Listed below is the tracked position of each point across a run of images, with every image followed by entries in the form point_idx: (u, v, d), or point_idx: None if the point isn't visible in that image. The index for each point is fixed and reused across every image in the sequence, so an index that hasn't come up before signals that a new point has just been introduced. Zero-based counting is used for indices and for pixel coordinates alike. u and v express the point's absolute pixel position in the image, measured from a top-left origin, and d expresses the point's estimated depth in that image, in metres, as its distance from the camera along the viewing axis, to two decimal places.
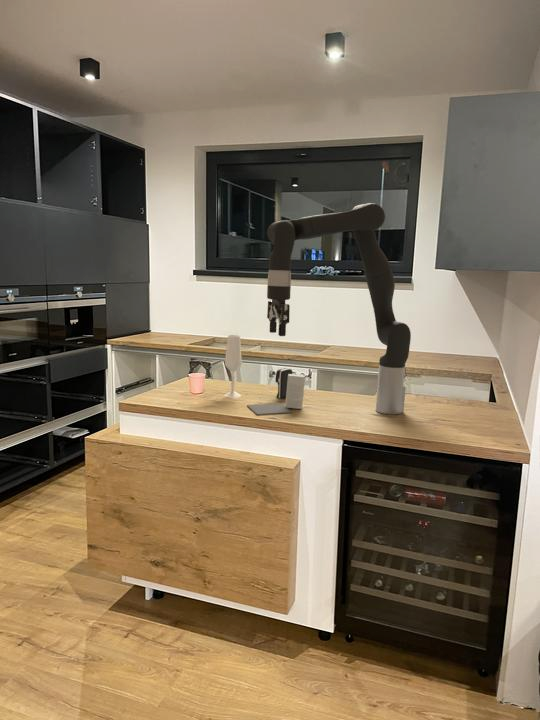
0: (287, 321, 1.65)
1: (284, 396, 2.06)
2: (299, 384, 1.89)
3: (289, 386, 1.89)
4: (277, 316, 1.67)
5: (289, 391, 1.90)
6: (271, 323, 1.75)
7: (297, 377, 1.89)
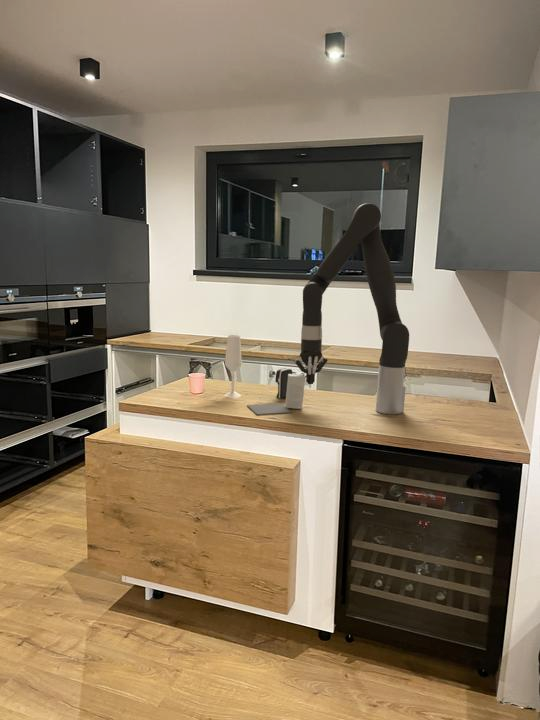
0: None
1: (284, 396, 2.06)
2: (299, 384, 1.89)
3: (289, 386, 1.89)
4: (316, 367, 1.91)
5: (289, 391, 1.89)
6: None
7: (297, 377, 1.89)
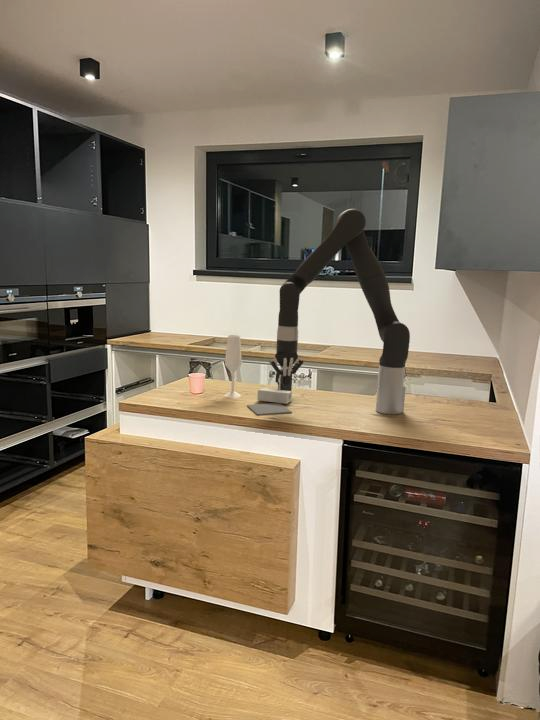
0: None
1: None
2: (268, 389, 2.02)
3: (268, 390, 1.98)
4: (291, 369, 1.88)
5: (273, 391, 1.98)
6: None
7: (261, 389, 2.02)
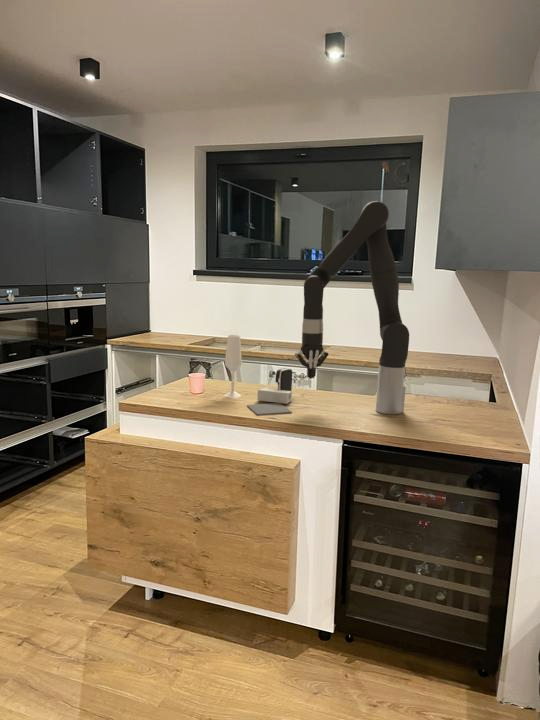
0: None
1: None
2: (268, 389, 2.02)
3: (268, 390, 1.98)
4: (317, 361, 1.91)
5: (273, 391, 1.98)
6: None
7: (261, 389, 2.02)
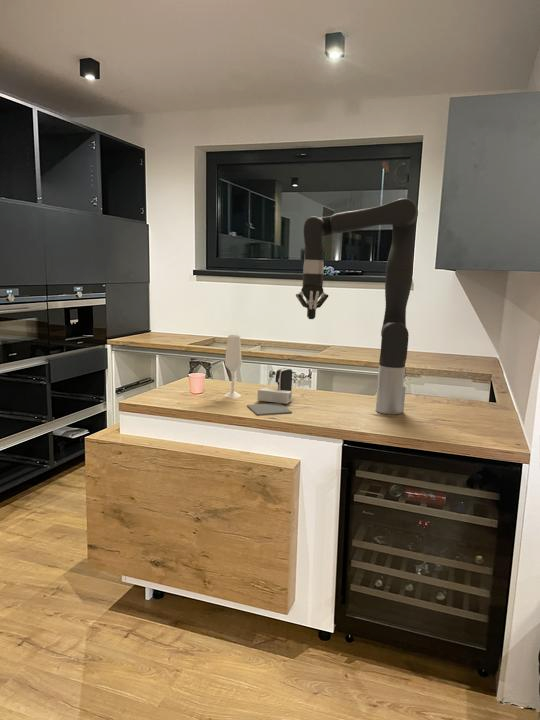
0: None
1: None
2: (268, 389, 2.02)
3: (268, 390, 1.98)
4: (317, 302, 1.95)
5: (273, 391, 1.98)
6: None
7: (261, 389, 2.02)
